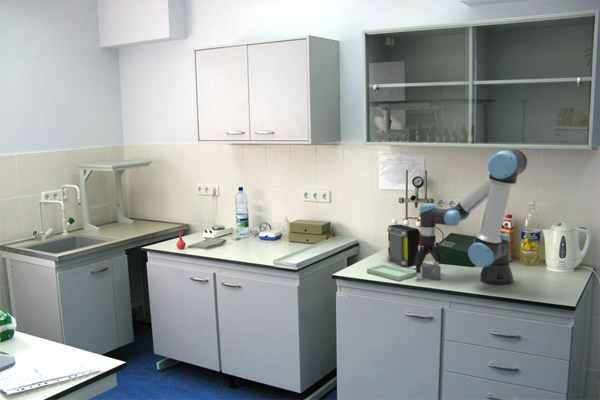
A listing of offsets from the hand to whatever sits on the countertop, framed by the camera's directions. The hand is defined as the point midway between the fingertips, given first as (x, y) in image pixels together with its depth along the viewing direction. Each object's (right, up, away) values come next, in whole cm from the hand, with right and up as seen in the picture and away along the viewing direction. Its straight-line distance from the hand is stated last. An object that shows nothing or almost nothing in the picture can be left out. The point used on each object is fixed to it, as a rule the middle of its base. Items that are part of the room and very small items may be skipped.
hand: (427, 276), depth 282 cm
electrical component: (-7, +3, +28) cm, 29 cm away
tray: (-18, 0, +6) cm, 19 cm away
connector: (-1, 0, +1) cm, 1 cm away
